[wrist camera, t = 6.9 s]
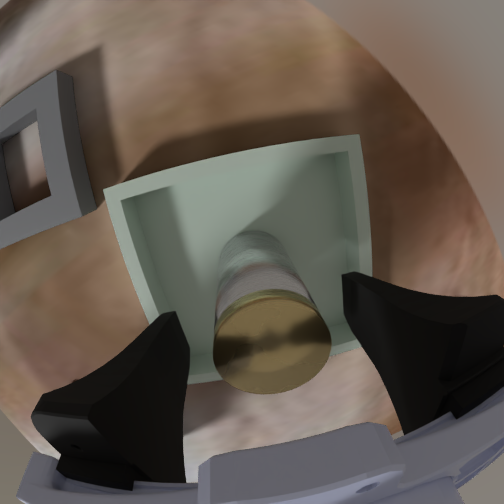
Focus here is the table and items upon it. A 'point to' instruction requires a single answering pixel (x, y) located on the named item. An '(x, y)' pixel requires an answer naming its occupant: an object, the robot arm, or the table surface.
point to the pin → (265, 318)
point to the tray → (241, 220)
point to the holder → (46, 158)
